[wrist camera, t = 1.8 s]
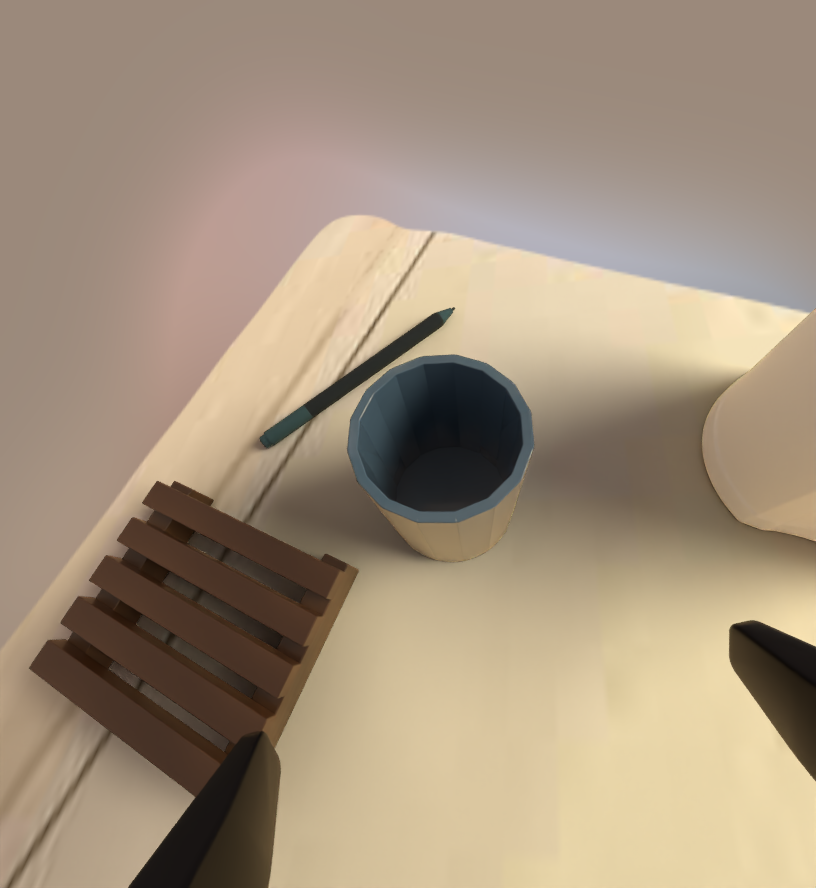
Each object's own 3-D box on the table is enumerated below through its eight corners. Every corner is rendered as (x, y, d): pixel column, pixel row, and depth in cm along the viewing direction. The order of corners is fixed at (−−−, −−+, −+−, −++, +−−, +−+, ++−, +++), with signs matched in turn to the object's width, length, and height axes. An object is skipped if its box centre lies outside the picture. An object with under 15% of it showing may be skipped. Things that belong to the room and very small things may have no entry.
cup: (487, 583, 21) (494, 555, 13) (371, 532, 23) (316, 480, 15) (529, 468, 23) (558, 382, 15) (420, 430, 25) (394, 336, 17)
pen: (460, 318, 29) (459, 306, 28) (270, 453, 27) (261, 445, 25) (450, 309, 29) (449, 297, 28) (262, 441, 27) (254, 433, 26)
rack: (253, 798, 19) (214, 828, 16) (79, 671, 23) (21, 677, 20) (361, 570, 23) (344, 562, 20) (195, 491, 26) (161, 474, 23)
